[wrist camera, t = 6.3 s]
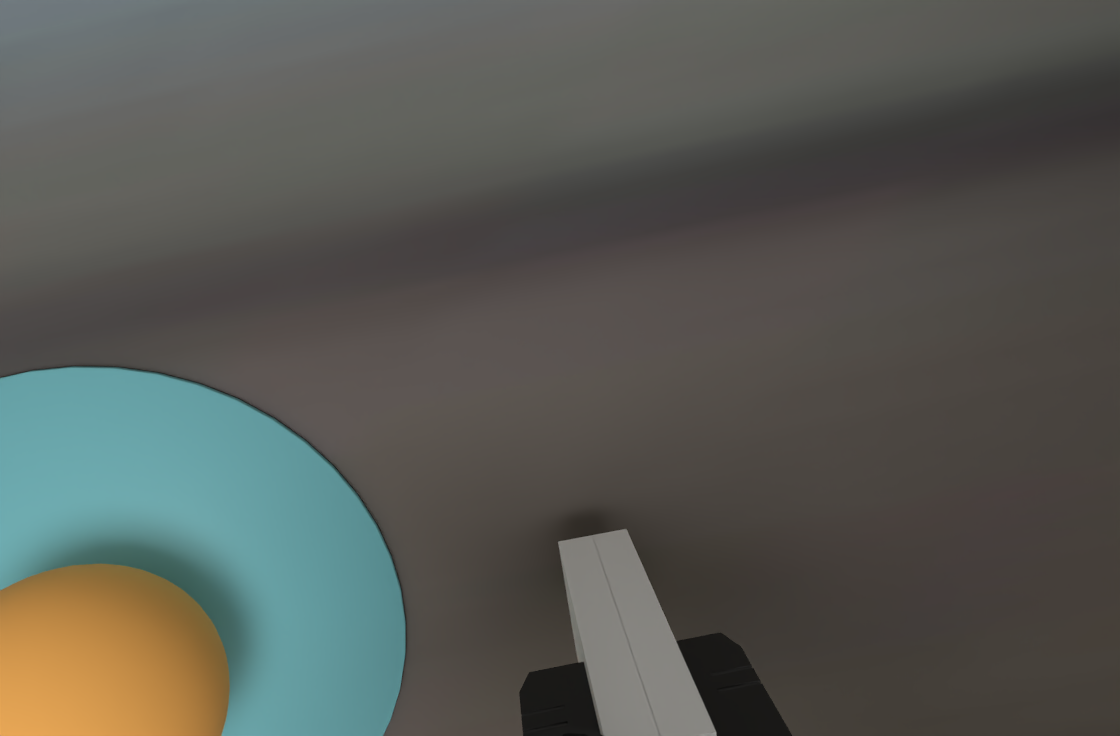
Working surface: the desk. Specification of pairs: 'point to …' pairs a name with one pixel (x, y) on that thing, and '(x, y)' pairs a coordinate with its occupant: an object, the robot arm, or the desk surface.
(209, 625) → the ball
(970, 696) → the desk surface
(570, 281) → the desk surface
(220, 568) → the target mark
